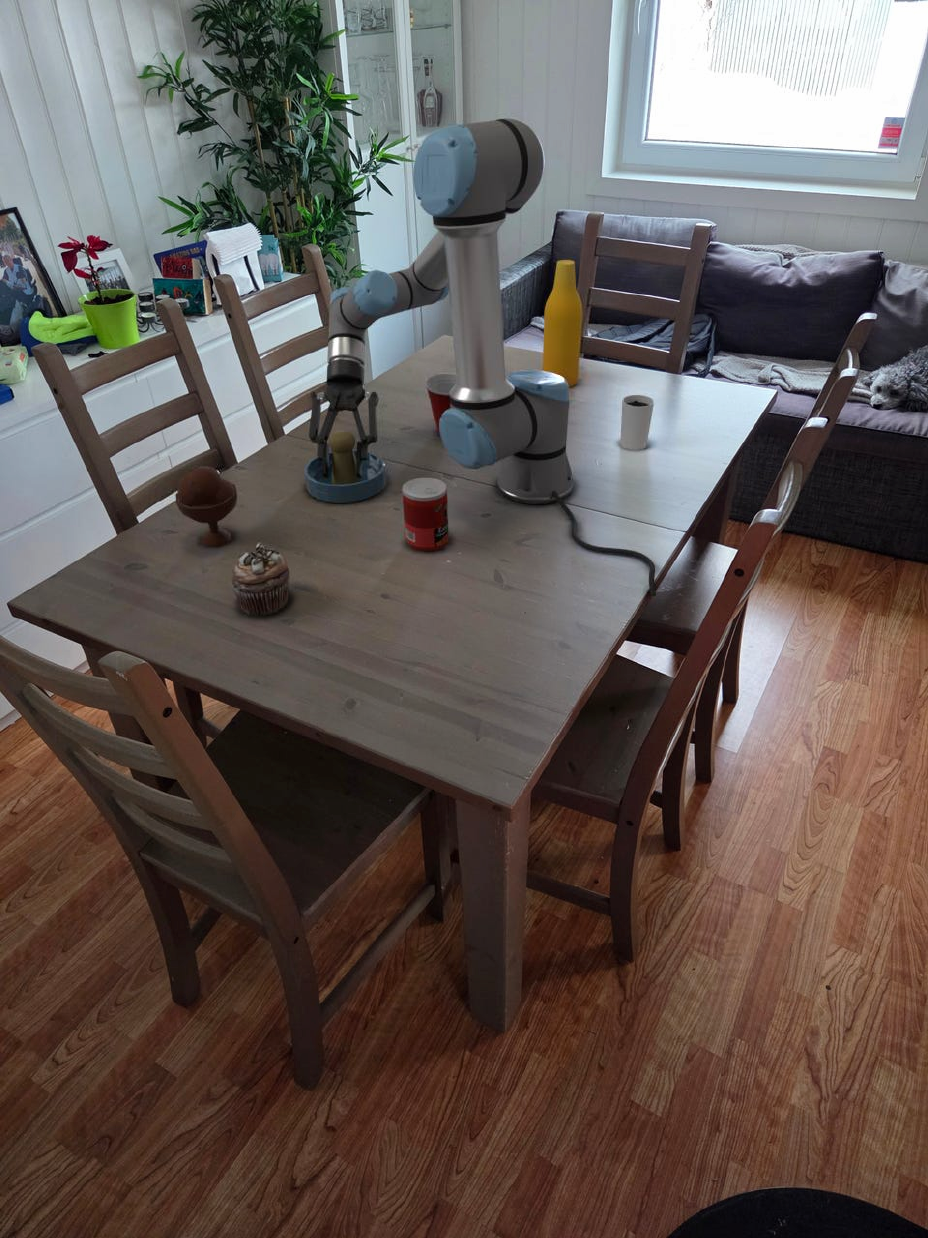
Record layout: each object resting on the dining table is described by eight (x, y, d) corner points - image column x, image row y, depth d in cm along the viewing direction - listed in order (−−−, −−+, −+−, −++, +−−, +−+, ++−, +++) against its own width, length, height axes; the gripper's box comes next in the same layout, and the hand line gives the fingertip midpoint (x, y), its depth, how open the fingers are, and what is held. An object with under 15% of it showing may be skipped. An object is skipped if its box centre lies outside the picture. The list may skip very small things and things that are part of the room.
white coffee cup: (611, 443, 185) (615, 399, 179) (633, 435, 188) (637, 392, 182) (633, 453, 180) (638, 409, 174) (655, 445, 183) (660, 401, 177)
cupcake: (261, 579, 145) (251, 529, 138) (305, 595, 141) (297, 544, 134) (222, 608, 138) (210, 557, 132) (267, 625, 134) (257, 573, 128)
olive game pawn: (332, 477, 174) (326, 427, 167) (361, 475, 174) (356, 426, 168) (331, 491, 169) (324, 440, 162) (361, 489, 169) (355, 439, 163)
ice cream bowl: (256, 528, 158) (242, 455, 149) (224, 558, 150) (207, 484, 141) (208, 520, 161) (191, 448, 152) (174, 549, 153) (154, 475, 144)
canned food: (444, 553, 150) (441, 499, 143) (401, 549, 151) (396, 495, 145) (453, 531, 156) (451, 478, 149) (411, 528, 157) (408, 475, 151)
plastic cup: (446, 446, 185) (444, 394, 178) (417, 431, 192) (414, 380, 185) (483, 432, 190) (483, 381, 183) (454, 418, 197) (453, 368, 190)
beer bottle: (539, 387, 211) (543, 266, 194) (544, 373, 218) (549, 256, 201) (575, 389, 210) (583, 267, 192) (580, 376, 217) (587, 257, 199)
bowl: (398, 491, 169) (397, 473, 167) (322, 511, 163) (320, 493, 161) (368, 460, 180) (366, 443, 178) (296, 477, 175) (293, 460, 172)
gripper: (394, 373, 173) (391, 481, 170) (303, 373, 174) (299, 481, 171) (390, 357, 166) (386, 469, 162) (295, 357, 166) (289, 469, 163)
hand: (341, 475), depth 167 cm, fingers open, 6 cm apart
